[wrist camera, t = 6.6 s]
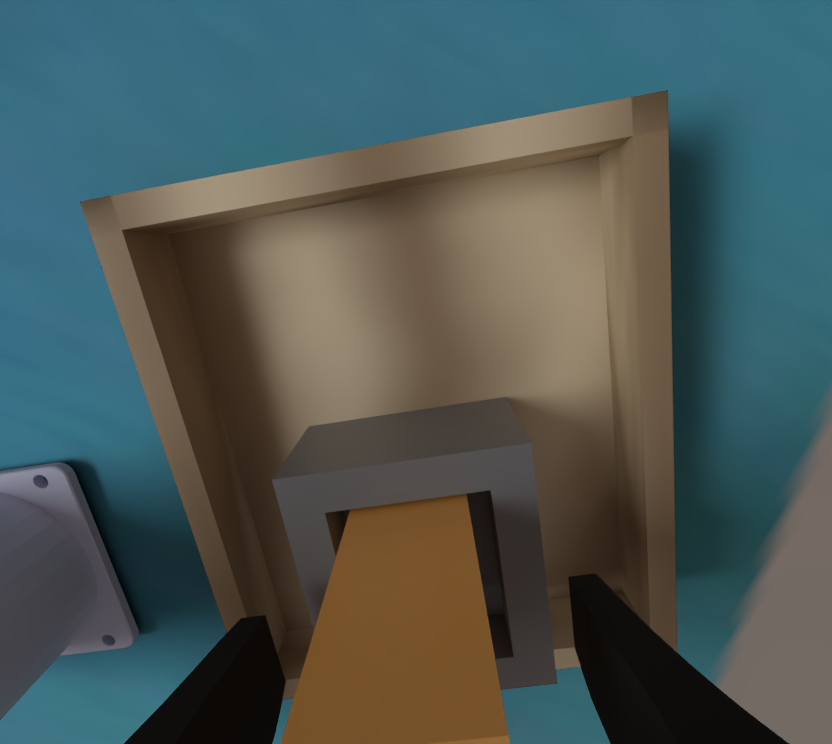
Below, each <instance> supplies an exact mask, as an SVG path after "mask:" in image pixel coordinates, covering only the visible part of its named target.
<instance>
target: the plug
mask: <svg viewBox="0 0 832 744" xmlns="http://www.w3.org/2000/svg"><path fill="white" fill-rule="evenodd" d="M281 744H510V742H509V736H508V730H507V724H506V718H505V713H504V707H503V701H502V695H501V690H500V684H499V678H498V673H497V667H496V661H495V655H494V650H493V644H492V638H491V632H490V627H489V621H488V615H487V609H486V604H485V598H484V592H483V586H482V581H481V575H480V569H479V563H478V558H477V552H476V546H475V540H474V535H473V529H472V523H471V517H470V512H469V506H468V500H467V494H459V495H452V496H444V497H437V498H430V499H422V500H415V501H408V502H401V503H393V504H386V505H379V506H371V507H364V508H357V509H350V512H349V515H348V518H347V522H346V525H345V529H344V532H343V535H342V539H341V542H340V545H339V549H338V552H337V555H336V559H335V562H334V566H333V569H332V572H331V576H330V579H329V582H328V586H327V589H326V593H325V596H324V599H323V603H322V606H321V609H320V613H319V616H318V619H317V623H316V626H315V630H314V633H313V636H312V640H311V643H310V646H309V650H308V653H307V657H306V660H305V663H304V667H303V670H302V673H301V677H300V680H299V683H298V687H297V690H296V694H295V697H294V700H293V704H292V707H291V710H290V714H289V717H288V721H287V724H286V727H285V731H284V734H283V737H282V741H281Z"/></svg>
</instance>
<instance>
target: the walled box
mask: <svg viewBox="0 0 832 744" xmlns="http://www.w3.org/2000/svg"><path fill="white" fill-rule="evenodd" d="M80 204H81V207H82V210H83V213H84V216H85V219H86V221H87V224H88V227H89V230H90V233H91V236H92V239H93V242H94V245H95V248H96V251H97V254H98V257H99V260H100V263H101V265H102V268H103V271H104V274H105V277H106V280H107V283H108V286H109V289H110V292H111V295H112V298H113V301H114V304H115V307H116V309H117V312H118V315H119V318H120V321H121V324H122V327H123V330H124V333H125V336H126V339H127V342H128V345H129V348H130V351H131V354H132V356H133V359H134V362H135V365H136V368H137V371H138V374H139V377H140V380H141V383H142V386H143V389H144V392H145V395H146V398H147V400H148V403H149V406H150V409H151V412H152V415H153V418H154V421H155V424H156V427H157V430H158V433H159V436H160V439H161V442H162V444H163V447H164V450H165V453H166V456H167V459H168V462H169V465H170V468H171V471H172V474H173V477H174V480H175V483H176V486H177V488H178V491H179V494H180V497H181V500H182V503H183V506H184V509H185V512H186V515H187V518H188V521H189V524H190V527H191V530H192V532H193V535H194V538H195V541H196V544H197V547H198V550H199V553H200V556H201V559H202V562H203V565H204V568H205V571H206V574H207V576H208V579H209V582H210V585H211V588H212V591H213V594H214V597H215V600H216V603H217V606H218V609H219V612H220V615H221V618H222V620H223V623H224V626H225V629H226V632H228V631H229V630H230V629H231V628H232V627H233V626H234V625H235V624H236V623H237V622H238V621H239V620H240V619H241V618H246V617H254V616H262V615H265V616H266V619H267V622H268V625H269V628H270V632H271V635H272V638H273V641H274V645H275V648H276V651H277V654H278V658H279V661H280V664H281V667H282V671H283V674H284V677H285V680H286V684H285V689H284V694H283V699H291V698H294V697H295V694H296V690H297V687H298V683H299V680H300V677H301V673H302V670H303V667H304V663H305V660H306V657H307V653H308V650H309V646H310V643H311V640H312V636H313V633H314V630H313V626H312V623H311V619H310V616H309V612H308V608H307V605H306V601H305V598H304V594H303V590H302V587H301V583H300V580H299V576H298V572H297V569H296V565H295V562H294V558H293V554H292V551H291V547H290V544H289V540H288V536H287V533H286V529H285V526H284V522H283V518H282V515H281V511H280V508H279V504H278V500H277V497H276V493H275V490H274V486H273V482H272V479H273V478H274V476H275V475H276V473H277V472H278V470H279V469H280V467H281V466H282V464H283V463H284V462H285V460H286V459H287V457H288V456H289V454H290V453H291V451H292V450H293V448H294V447H295V446H296V444H297V443H298V441H299V440H300V438H301V437H302V435H303V434H304V432H305V431H306V430H307V428H308V427H309V426H314V425H321V424H328V423H334V422H341V421H348V420H354V419H361V418H368V417H374V416H381V415H388V414H394V413H401V412H408V411H414V410H421V409H428V408H434V407H441V406H448V405H454V404H461V403H468V402H474V401H481V400H488V399H494V398H501V397H506V399H507V401H508V403H509V404H510V406H511V408H512V410H513V411H514V413H515V415H516V417H517V418H518V420H519V422H520V424H521V425H522V427H523V429H524V431H525V432H526V434H527V436H528V438H529V439H530V441H531V443H532V452H533V461H534V471H535V480H536V490H537V499H538V508H539V518H540V527H541V536H542V546H543V555H544V565H545V574H546V583H547V593H548V602H549V612H550V621H551V630H552V640H553V649H554V659H555V668H556V669H563V668H572V667H581V666H580V663H579V660H578V656H577V653H576V650H575V645H574V634H573V623H572V612H571V601H570V590H569V579H568V577H570V576H578V575H586V574H594V573H595V574H597V575H598V576H599V577H601V579H602V580H603V581H604V582H605V583H606V584H607V585H608V586H609V587H610V588H611V589H612V590H613V591H614V592H615V593H616V594H617V595H618V596H619V597H620V598H621V599H622V600H623V601H624V602H625V603H626V604H627V605H628V606H629V607H630V608H631V609H632V610H633V611H634V612H635V613H636V614H637V615H638V616H639V617H640V618H641V619H642V620H643V621H644V622H645V623H646V624H647V625H648V626H649V627H650V628H651V629H652V630H653V631H654V632H655V633H656V634H657V635H659V636H660V637H661V638H662V639H663V640H664V641H665V642H666V643H667V644H668V645H669V646H671V647H672V648H673V649H674V650H675V651H676V652H677V618H676V557H675V495H674V434H673V373H672V312H671V251H670V190H669V129H668V90H666V91H661V92H656V93H650V94H645V95H640V96H635V97H629V98H624V99H619V100H614V101H608V102H603V103H598V104H592V105H587V106H582V107H577V108H571V109H566V110H561V111H555V112H550V113H545V114H540V115H534V116H529V117H524V118H518V119H513V120H508V121H503V122H497V123H492V124H487V125H482V126H476V127H471V128H466V129H460V130H455V131H450V132H445V133H439V134H434V135H429V136H423V137H418V138H413V139H408V140H402V141H397V142H392V143H387V144H381V145H376V146H371V147H365V148H360V149H355V150H350V151H344V152H339V153H334V154H328V155H323V156H318V157H313V158H307V159H302V160H297V161H292V162H286V163H281V164H276V165H270V166H265V167H260V168H255V169H249V170H244V171H239V172H233V173H228V174H223V175H218V176H212V177H207V178H202V179H197V180H191V181H186V182H181V183H175V184H170V185H165V186H160V187H154V188H149V189H144V190H138V191H133V192H128V193H123V194H117V195H112V196H107V197H101V198H96V199H91V200H86V201H80Z"/></svg>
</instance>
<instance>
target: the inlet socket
mask: <svg viewBox="0 0 832 744" xmlns="http://www.w3.org/2000/svg"><path fill="white" fill-rule="evenodd" d="M272 482H273V486H274V490H275V493H276V497H277V500H278V504H279V508H280V511H281V515H282V518H283V522H284V526H285V529H286V533H287V536H288V540H289V544H290V547H291V551H292V554H293V558H294V562H295V565H296V569H297V572H298V576H299V580H300V583H301V587H302V590H303V594H304V598H305V601H306V605H307V608H308V612H309V616H310V619H311V623H312V626H313V630H315V626H316V623H317V619H318V616H319V613H320V609H321V606H322V603H323V599H324V596H325V593H326V589H327V586H328V582H329V579H330V576H331V572H332V569H333V566H334V562H335V559H336V555H337V552H338V549H339V545H340V542H341V539H342V535H343V532H344V529H345V525H346V522H347V518H348V515H349V512H350V509H357V508H364V507H371V506H379V505H386V504H393V503H401V502H408V501H415V500H422V499H430V498H437V497H444V496H452V495H459V494H467V500H468V506H469V512H470V517H471V523H472V529H473V535H474V540H475V546H476V552H477V558H478V563H479V569H480V575H481V581H482V586H483V592H484V598H485V604H486V609H487V615H488V621H489V627H490V632H491V638H492V644H493V650H494V655H495V661H496V667H497V673H498V678H499V684H500V690H501V689H511V688H520V687H529V686H538V685H548V684H557V677H556V668H555V659H554V649H553V640H552V630H551V621H550V612H549V602H548V593H547V583H546V574H545V565H544V555H543V546H542V536H541V527H540V518H539V508H538V499H537V490H536V480H535V471H534V461H533V452H532V443H531V441H530V439H529V438H528V436H527V434H526V432H525V431H524V429H523V427H522V425H521V424H520V422H519V420H518V418H517V417H516V415H515V413H514V411H513V410H512V408H511V406H510V404H509V403H508V401H507V399H506V397H501V398H494V399H488V400H481V401H474V402H468V403H461V404H454V405H448V406H441V407H434V408H428V409H421V410H414V411H408V412H401V413H394V414H388V415H381V416H374V417H368V418H361V419H354V420H348V421H341V422H334V423H328V424H321V425H314V426H309V427H308V428H307V430H306V431H305V432H304V434H303V435H302V437H301V438H300V440H299V441H298V443H297V444H296V446H295V447H294V448H293V450H292V451H291V453H290V454H289V456H288V457H287V459H286V460H285V462H284V463H283V464H282V466H281V467H280V469H279V470H278V472H277V473H276V475H275V476H274V478H273V479H272Z"/></svg>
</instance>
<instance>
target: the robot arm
mask: <svg viewBox="0 0 832 744" xmlns="http://www.w3.org/2000/svg"><path fill="white" fill-rule="evenodd" d="M43 476H44V477H46V479H47V480H48V481H46V480H45V479H44V478H43ZM568 579H569V590H570V601H571V612H572V623H573V634H574V645H575V650H576V653H577V656H578V660H579V663H580V666H581V669H582V672H583V675H584V678H585V681H586V684H587V687H588V690H589V693H590V696H591V699H592V701H593V704H594V706H595V708H596V711H597V713H598V715H599V718H600V720H601V722H602V725H603V727H604V729H605V732H606V734H607V736H608V738H609V741H610V743H611V744H789V743H787V742H786V741H784V740H783V739H782V738H781V737H779V736H778V735H776V734H775V733H774V732H773V731H771V730H770V729H769V728H768V727H766V726H765V725H764V724H762V723H761V722H760V721H758V720H757V719H756V718H754V717H753V716H752V715H750V714H749V713H748V712H747V711H745V710H744V709H743V708H742V707H740V706H739V705H738V704H737V703H736V702H734V701H733V700H732V699H731V698H729V697H728V696H727V695H726V694H724V693H723V692H722V691H721V690H720V689H719V688H717V687H716V686H715V685H714V684H713V683H711V682H710V681H709V680H708V679H707V678H706V677H704V676H703V675H702V674H701V673H700V672H698V671H697V670H696V669H695V668H694V667H693V666H692V665H690V664H689V663H688V662H687V661H686V660H685V659H684V658H683V657H681V656H680V655H679V654H678V653H677V652H676V651H675V650H674V649H673V648H672V647H671V646H669V645H668V644H667V643H666V642H665V641H664V640H663V639H662V638H661V637H660V636H659V635H657V634H656V633H655V632H654V631H653V630H652V629H651V628H650V627H649V626H648V625H647V624H646V623H645V622H644V621H643V620H642V619H641V618H640V617H639V616H638V615H637V614H636V613H635V612H634V611H633V610H632V609H631V608H630V607H629V606H628V605H627V604H626V603H625V602H624V601H623V600H622V599H621V598H620V597H619V596H618V595H617V594H616V593H615V592H614V591H613V590H612V589H611V588H610V587H609V586H608V585H607V584H606V583H605V582H604V581H603V580H602V579H601V577H599V576H598V575H597V574H595V573H594V574H586V575H578V576H570V577H568ZM138 635H139V631H138V628H137V625H136V623H135V620H134V618H133V615H132V613H131V610H130V608H129V605H128V603H127V600H126V598H125V596H124V593H123V591H122V588H121V586H120V583H119V581H118V578H117V576H116V573H115V571H114V568H113V566H112V563H111V561H110V558H109V556H108V553H107V551H106V548H105V546H104V543H103V541H102V539H101V536H100V534H99V531H98V529H97V526H96V524H95V521H94V519H93V516H92V514H91V511H90V509H89V506H88V504H87V501H86V499H85V496H84V494H83V491H82V489H81V487H80V484H79V482H78V479H77V477H76V474H75V472H74V470H73V469H72V468H71V467H70V466H69V465H67V464H65V463H60V462H56V463H49V464H43V465H36V466H29V467H23V468H16V469H9V470H3V471H0V720H1V719H2V718H3V717H4V715H5V714H6V713H7V712H8V711H9V710H10V709H11V708H12V707H13V706H14V705H15V703H16V702H17V701H18V700H19V699H20V698H21V697H22V696H23V695H24V694H25V693H26V691H27V690H28V689H29V688H30V687H31V686H32V685H33V684H34V683H35V682H36V681H37V680H38V678H39V677H40V676H41V675H42V674H43V673H44V672H45V671H46V670H47V669H48V668H49V666H50V665H51V664H52V663H53V662H54V661H55V660H56V659H57V658H58V657H59V656H63V655H71V654H79V653H87V652H96V651H104V650H112V649H121V648H127V647H130V646H131V645H132V644H133V643H134V642H135V640H136V639H137V638H138ZM285 684H286V680H285V677H284V674H283V671H282V667H281V664H280V661H279V658H278V654H277V651H276V648H275V645H274V641H273V638H272V635H271V632H270V628H269V625H268V622H267V619H266V616H265V615H262V616H254V617H246V618H241V619H240V620H239V621H238V622H237V623H236V624H235V625H234V626H233V627H232V628H231V629H230V630H229V631H228V632H227V633H226V635H225V636H224V637H223V638H222V639H221V640H220V641H219V642H218V643H217V645H216V646H215V647H214V648H213V649H212V650H211V651H210V652H209V653H208V655H207V656H206V657H205V658H204V659H203V660H202V661H201V662H200V663H199V665H198V666H197V667H196V668H195V669H194V670H193V671H192V672H191V673H190V674H189V676H188V677H187V678H186V679H185V680H184V681H183V682H182V683H181V684H180V685H179V686H178V688H177V689H176V690H175V691H174V692H173V693H172V694H171V695H170V696H169V697H168V698H167V700H166V701H165V702H164V703H163V704H162V705H161V706H160V707H159V708H158V709H157V710H156V711H155V712H154V713H153V714H152V715H151V716H150V717H149V718H148V719H147V720H146V721H145V722H144V723H143V724H142V726H141V727H140V728H139V729H138V730H137V731H136V732H135V733H134V734H133V735H132V736H131V737H130V738H129V739H128V740H127V741H126V742H125V743H124V744H272V742H273V739H274V736H275V732H276V727H277V723H278V718H279V714H280V709H281V704H282V699H283V694H284V689H285Z"/></svg>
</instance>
